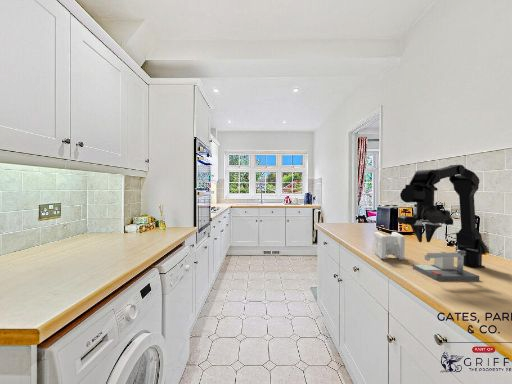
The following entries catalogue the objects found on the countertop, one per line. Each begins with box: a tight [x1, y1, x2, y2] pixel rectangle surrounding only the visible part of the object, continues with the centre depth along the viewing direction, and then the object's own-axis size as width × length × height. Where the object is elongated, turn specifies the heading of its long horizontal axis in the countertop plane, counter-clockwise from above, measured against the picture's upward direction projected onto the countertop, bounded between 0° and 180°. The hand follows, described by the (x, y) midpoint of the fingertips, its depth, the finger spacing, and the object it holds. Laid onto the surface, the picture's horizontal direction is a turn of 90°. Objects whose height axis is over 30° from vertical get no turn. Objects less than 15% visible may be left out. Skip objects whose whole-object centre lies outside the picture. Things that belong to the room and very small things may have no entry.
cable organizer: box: [373, 231, 406, 261], centre depth 124 cm, size 15×11×12 cm
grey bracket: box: [424, 249, 466, 274], centre depth 94 cm, size 3×16×9 cm, turn 99°
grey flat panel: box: [412, 264, 480, 281], centre depth 100 cm, size 16×14×2 cm
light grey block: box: [433, 251, 455, 269], centre depth 103 cm, size 4×4×6 cm
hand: (424, 242), depth 100 cm, fingers open, 3 cm apart
